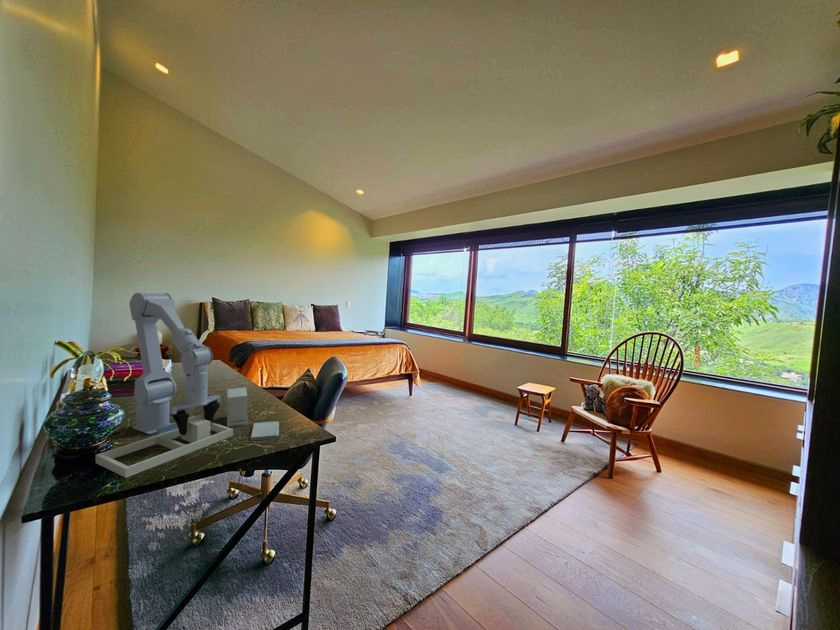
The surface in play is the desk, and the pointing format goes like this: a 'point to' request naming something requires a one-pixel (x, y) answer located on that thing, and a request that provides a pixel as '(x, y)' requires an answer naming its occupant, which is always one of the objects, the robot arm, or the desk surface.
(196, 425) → the cream rectangular block
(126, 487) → the desk surface
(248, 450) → the desk surface
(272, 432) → the hard drive
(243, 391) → the skincare box
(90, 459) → the desk surface
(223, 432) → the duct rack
